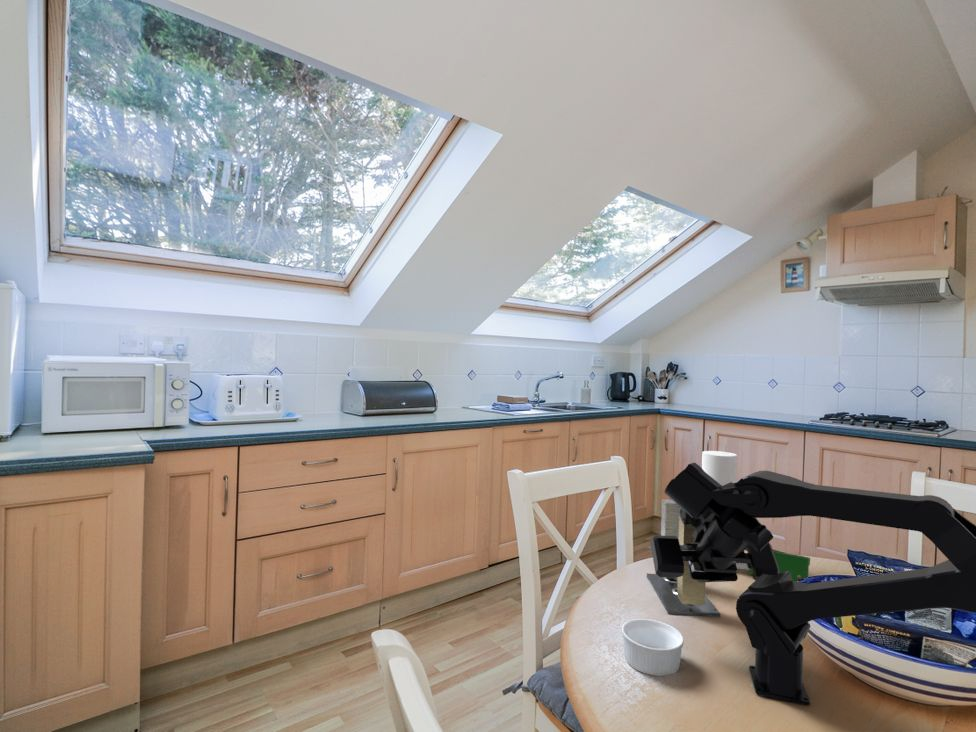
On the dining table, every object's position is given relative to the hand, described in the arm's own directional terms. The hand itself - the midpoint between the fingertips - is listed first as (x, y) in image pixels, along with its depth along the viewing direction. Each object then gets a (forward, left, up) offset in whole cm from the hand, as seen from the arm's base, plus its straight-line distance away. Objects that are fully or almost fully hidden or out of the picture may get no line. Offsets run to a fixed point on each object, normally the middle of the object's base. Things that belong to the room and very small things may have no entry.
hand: (699, 579), depth 89 cm
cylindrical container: (+31, -5, -8) cm, 32 cm away
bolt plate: (+11, +3, -8) cm, 13 cm away
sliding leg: (+5, +1, -8) cm, 9 cm away
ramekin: (-15, +7, -8) cm, 18 cm away
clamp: (+28, -17, -8) cm, 34 cm away
